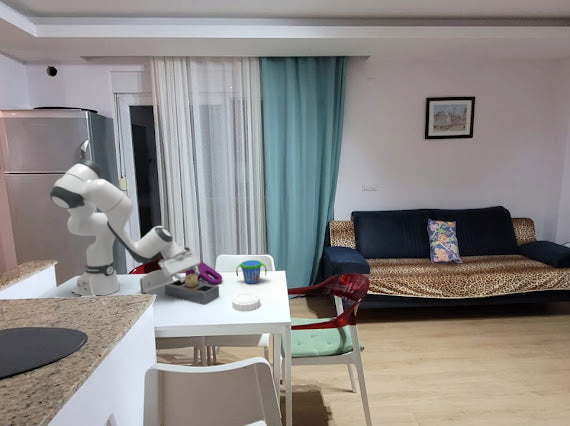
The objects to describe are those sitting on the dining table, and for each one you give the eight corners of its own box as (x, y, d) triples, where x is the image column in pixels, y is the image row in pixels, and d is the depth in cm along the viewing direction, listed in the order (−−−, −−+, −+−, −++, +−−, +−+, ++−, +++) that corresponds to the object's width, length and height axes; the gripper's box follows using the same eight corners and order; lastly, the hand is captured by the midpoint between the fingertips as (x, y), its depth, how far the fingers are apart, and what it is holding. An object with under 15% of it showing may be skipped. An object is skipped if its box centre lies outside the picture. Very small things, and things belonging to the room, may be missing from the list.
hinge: (146, 295, 164) (140, 275, 165) (141, 296, 167) (136, 276, 168) (176, 285, 177) (171, 266, 178) (172, 286, 180) (167, 267, 181)
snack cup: (234, 285, 175) (233, 265, 174) (239, 278, 185) (238, 259, 184) (265, 285, 173) (264, 266, 172) (268, 278, 184) (267, 260, 182)
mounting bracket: (220, 291, 184) (195, 273, 190) (225, 278, 181) (200, 260, 187) (209, 297, 175) (183, 278, 181) (214, 284, 173) (188, 265, 179)
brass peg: (186, 296, 161) (184, 276, 160) (192, 293, 165) (190, 273, 163) (192, 298, 159) (191, 277, 158) (198, 295, 163) (197, 274, 161)
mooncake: (231, 312, 144) (230, 304, 144) (233, 300, 156) (233, 293, 156) (260, 311, 145) (259, 302, 145) (260, 299, 157) (259, 292, 156)
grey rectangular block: (165, 295, 164) (164, 285, 163) (181, 288, 172) (180, 278, 171) (204, 304, 152) (204, 293, 151) (219, 296, 161) (218, 286, 160)
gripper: (160, 257, 154) (177, 281, 151) (192, 246, 172) (208, 267, 169) (153, 265, 157) (171, 289, 154) (186, 254, 174) (202, 275, 171)
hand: (191, 278), depth 161 cm, fingers open, 8 cm apart
